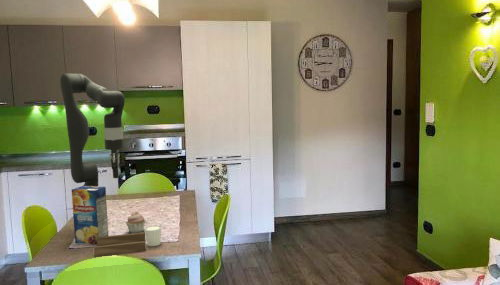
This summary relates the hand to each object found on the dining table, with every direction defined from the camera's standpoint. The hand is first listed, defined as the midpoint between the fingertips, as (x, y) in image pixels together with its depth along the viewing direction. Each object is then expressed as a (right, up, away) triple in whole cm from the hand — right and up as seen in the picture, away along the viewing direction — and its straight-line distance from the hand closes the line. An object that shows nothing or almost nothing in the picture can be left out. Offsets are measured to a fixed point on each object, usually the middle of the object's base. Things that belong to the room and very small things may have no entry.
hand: (115, 177), depth 172 cm
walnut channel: (+3, -29, -3) cm, 30 cm away
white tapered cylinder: (+16, -29, 0) cm, 33 cm away
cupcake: (+4, -27, +17) cm, 33 cm away
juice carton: (-13, -29, +6) cm, 32 cm away
